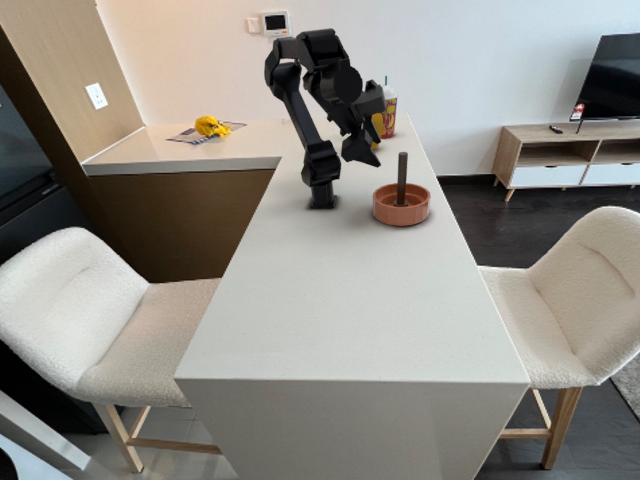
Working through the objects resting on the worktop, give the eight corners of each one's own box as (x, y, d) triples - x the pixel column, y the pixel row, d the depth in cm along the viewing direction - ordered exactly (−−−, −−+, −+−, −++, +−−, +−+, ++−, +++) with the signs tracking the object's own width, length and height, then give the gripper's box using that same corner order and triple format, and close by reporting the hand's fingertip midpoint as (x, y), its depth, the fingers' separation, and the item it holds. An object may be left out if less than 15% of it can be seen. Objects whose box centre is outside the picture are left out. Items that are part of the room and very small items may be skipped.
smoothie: (370, 135, 131) (369, 76, 118) (388, 131, 133) (390, 72, 121) (381, 140, 125) (381, 79, 112) (400, 136, 127) (403, 75, 115)
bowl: (430, 228, 76) (432, 207, 73) (371, 227, 78) (371, 208, 75) (426, 200, 86) (428, 182, 83) (374, 201, 88) (374, 183, 85)
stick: (399, 216, 80) (402, 157, 71) (389, 210, 82) (391, 153, 73) (411, 211, 81) (415, 153, 72) (401, 206, 83) (404, 149, 75)
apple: (359, 157, 113) (358, 116, 105) (346, 148, 121) (344, 109, 113) (388, 151, 116) (389, 110, 108) (374, 142, 124) (373, 104, 116)
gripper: (365, 97, 58) (412, 159, 67) (367, 53, 70) (408, 111, 78) (318, 134, 65) (367, 186, 74) (327, 89, 76) (369, 139, 85)
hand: (379, 154), depth 77 cm, fingers open, 9 cm apart
